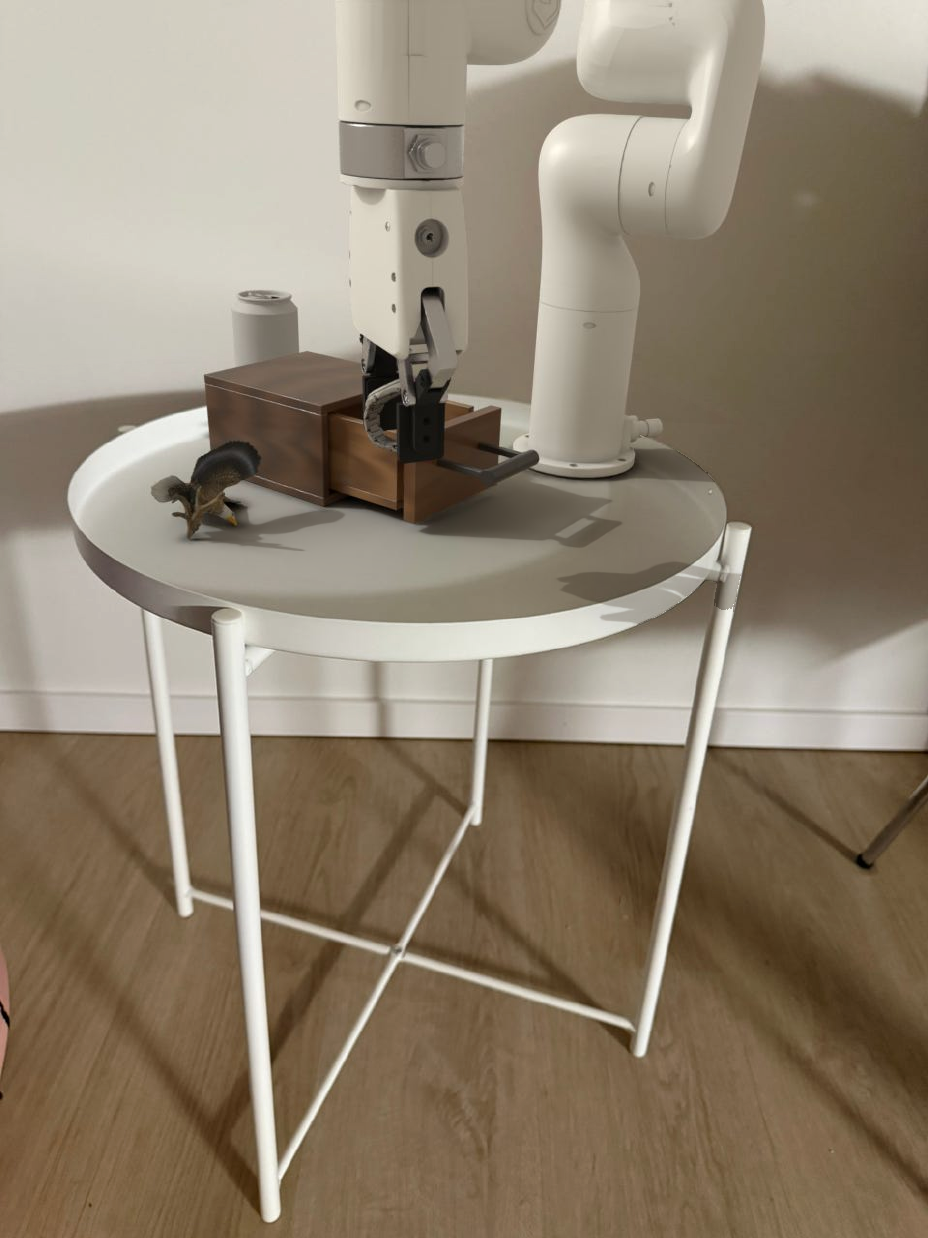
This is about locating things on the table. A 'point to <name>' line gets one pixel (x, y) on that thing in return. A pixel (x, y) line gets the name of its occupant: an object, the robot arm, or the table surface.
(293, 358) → the cabinet
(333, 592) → the table surface
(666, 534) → the table surface
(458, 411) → the drawer
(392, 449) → the wristwatch
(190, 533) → the eagle figurine
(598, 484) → the table surface
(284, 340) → the can
